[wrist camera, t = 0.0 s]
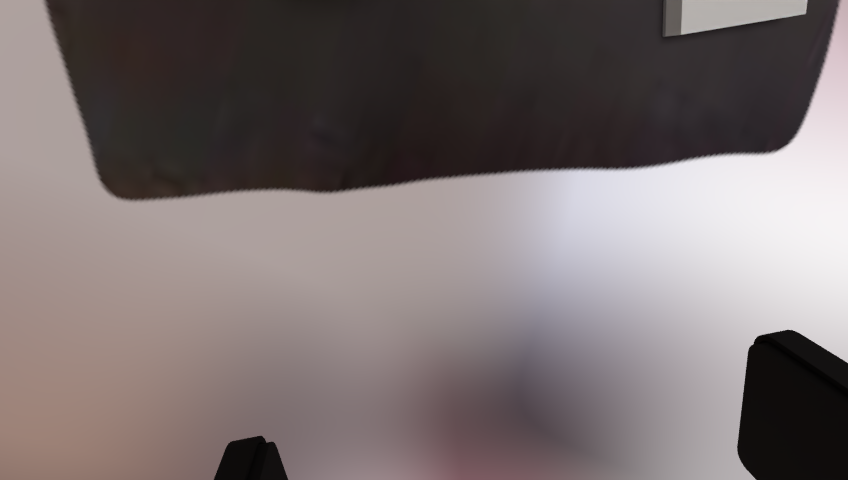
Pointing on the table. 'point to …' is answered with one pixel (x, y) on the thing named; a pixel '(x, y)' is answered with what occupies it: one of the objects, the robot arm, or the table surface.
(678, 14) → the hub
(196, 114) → the table surface
